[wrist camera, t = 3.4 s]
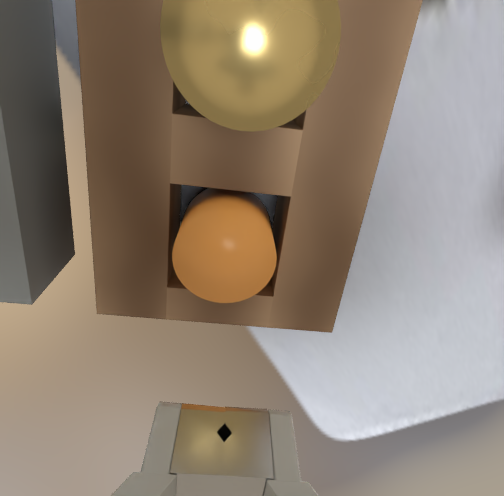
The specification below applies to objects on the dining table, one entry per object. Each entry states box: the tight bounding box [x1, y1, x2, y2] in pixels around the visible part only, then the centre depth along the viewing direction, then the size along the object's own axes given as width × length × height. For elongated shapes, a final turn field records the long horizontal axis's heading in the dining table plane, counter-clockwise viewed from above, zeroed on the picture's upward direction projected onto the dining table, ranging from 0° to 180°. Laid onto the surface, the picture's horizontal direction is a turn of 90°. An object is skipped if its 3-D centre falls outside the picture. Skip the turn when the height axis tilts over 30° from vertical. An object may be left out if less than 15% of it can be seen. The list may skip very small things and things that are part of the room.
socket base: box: [75, 0, 423, 333], centre depth 17 cm, size 12×18×4 cm, turn 173°
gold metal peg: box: [160, 0, 341, 132], centre depth 13 cm, size 4×4×10 cm
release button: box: [172, 188, 277, 303], centre depth 17 cm, size 4×4×4 cm
